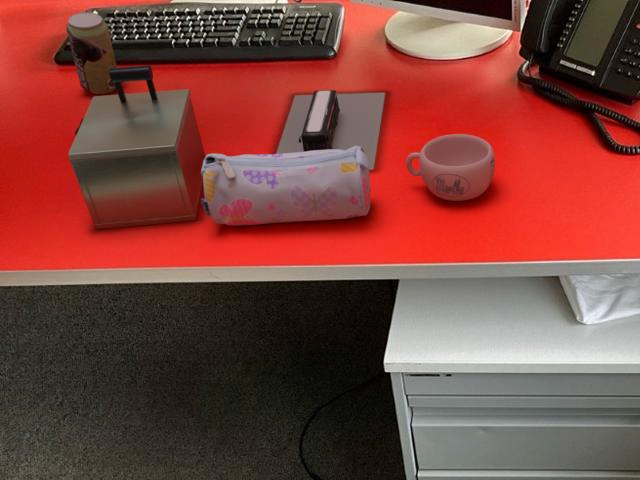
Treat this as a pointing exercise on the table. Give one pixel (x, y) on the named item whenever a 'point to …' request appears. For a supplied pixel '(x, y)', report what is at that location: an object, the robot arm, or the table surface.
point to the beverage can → (91, 51)
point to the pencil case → (286, 186)
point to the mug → (455, 166)
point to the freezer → (145, 183)
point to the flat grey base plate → (333, 123)
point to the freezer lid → (131, 119)
